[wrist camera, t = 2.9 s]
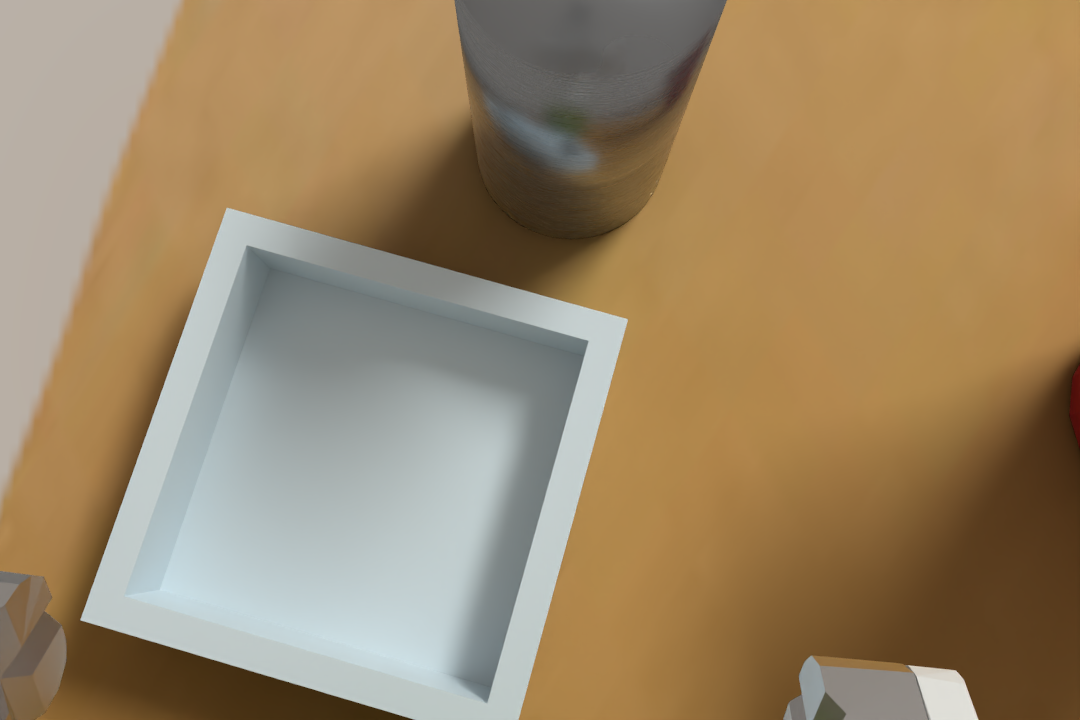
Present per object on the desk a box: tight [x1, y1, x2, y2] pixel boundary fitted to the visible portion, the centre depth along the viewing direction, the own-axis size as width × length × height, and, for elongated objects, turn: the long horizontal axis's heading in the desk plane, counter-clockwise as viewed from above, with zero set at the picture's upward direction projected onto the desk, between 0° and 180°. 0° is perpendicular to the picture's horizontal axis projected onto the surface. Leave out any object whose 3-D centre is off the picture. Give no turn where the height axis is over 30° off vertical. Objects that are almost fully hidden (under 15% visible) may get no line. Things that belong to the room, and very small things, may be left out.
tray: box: [81, 208, 628, 720], centre depth 24 cm, size 11×11×3 cm
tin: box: [455, 0, 727, 239], centre depth 23 cm, size 6×6×10 cm
